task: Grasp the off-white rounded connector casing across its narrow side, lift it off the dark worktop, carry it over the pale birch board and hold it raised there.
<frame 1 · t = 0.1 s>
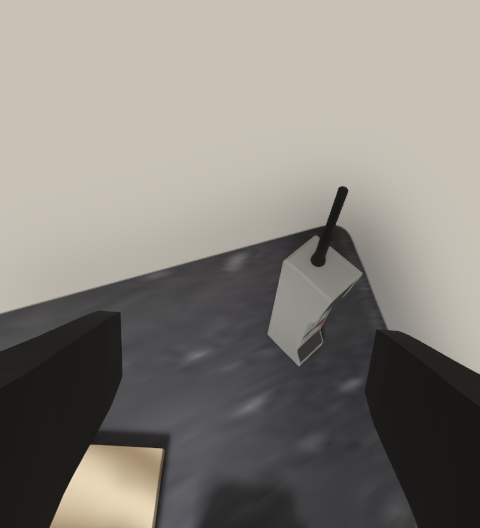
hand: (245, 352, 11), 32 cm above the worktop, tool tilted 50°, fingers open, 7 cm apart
vintage mobile phone: (293, 341, 45), on the worktop
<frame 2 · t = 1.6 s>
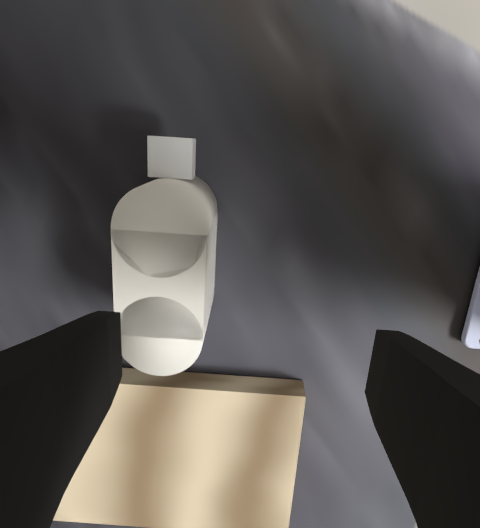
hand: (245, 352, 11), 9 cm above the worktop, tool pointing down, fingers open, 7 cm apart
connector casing: (180, 252, 20), on the worktop
birch board: (160, 442, 24), on the worktop
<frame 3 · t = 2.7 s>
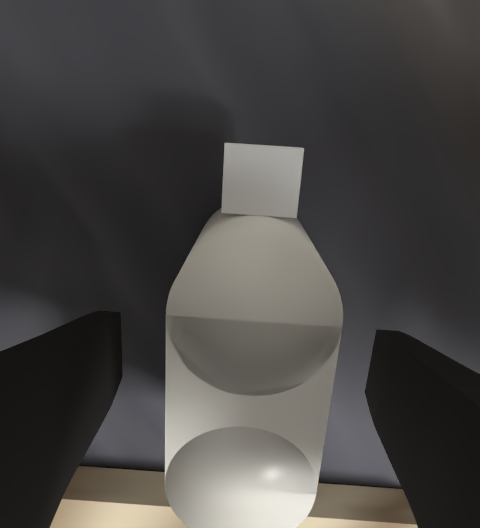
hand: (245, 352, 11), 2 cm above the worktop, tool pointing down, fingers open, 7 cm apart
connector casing: (248, 315, 13), on the worktop
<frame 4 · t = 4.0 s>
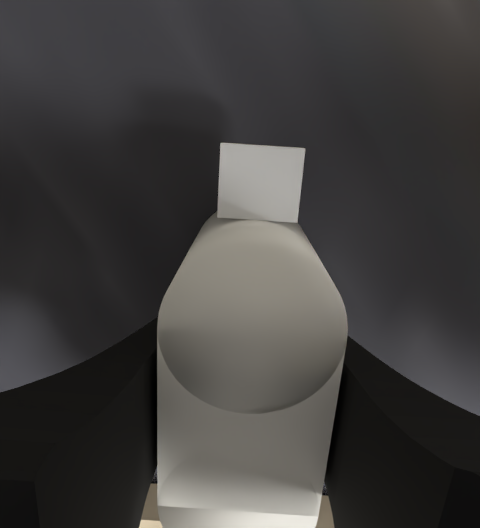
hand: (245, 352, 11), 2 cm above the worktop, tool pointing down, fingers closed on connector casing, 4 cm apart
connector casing: (246, 322, 13), on the worktop, touching gripper
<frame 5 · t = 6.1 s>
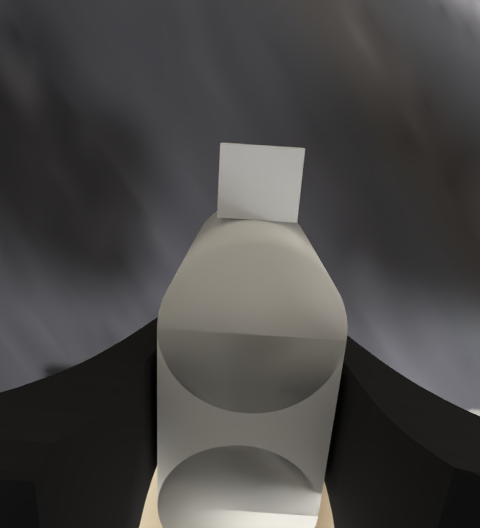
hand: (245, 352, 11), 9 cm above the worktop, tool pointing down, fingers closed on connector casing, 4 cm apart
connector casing: (246, 322, 13), point 7 cm above the worktop, touching gripper
birch board: (215, 457, 23), on the worktop
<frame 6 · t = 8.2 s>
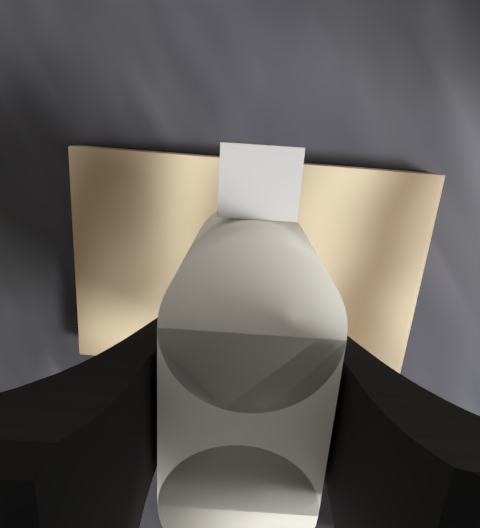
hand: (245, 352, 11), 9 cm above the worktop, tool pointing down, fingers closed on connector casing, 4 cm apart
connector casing: (246, 322, 13), point 7 cm above the worktop, touching gripper
birch board: (247, 262, 20), on the worktop
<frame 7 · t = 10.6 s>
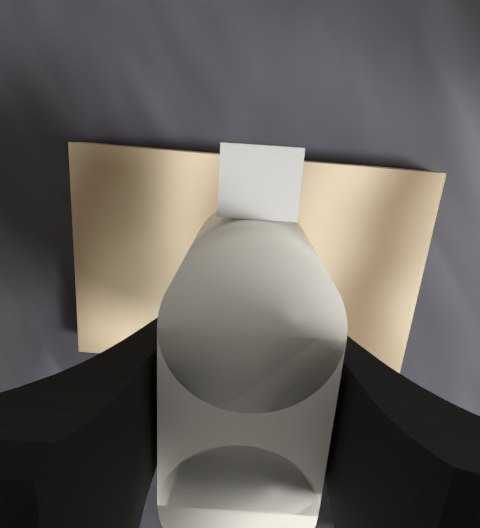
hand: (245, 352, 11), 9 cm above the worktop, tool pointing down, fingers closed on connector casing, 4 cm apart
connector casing: (246, 322, 13), point 7 cm above the worktop, touching gripper
birch board: (247, 260, 20), on the worktop
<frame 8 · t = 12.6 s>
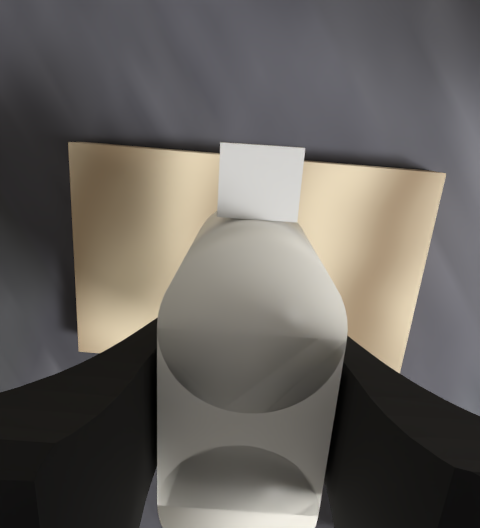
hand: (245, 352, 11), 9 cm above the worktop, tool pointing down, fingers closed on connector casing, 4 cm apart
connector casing: (246, 322, 13), point 7 cm above the worktop, touching gripper
birch board: (247, 260, 20), on the worktop
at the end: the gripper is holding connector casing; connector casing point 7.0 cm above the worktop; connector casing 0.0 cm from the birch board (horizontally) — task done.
